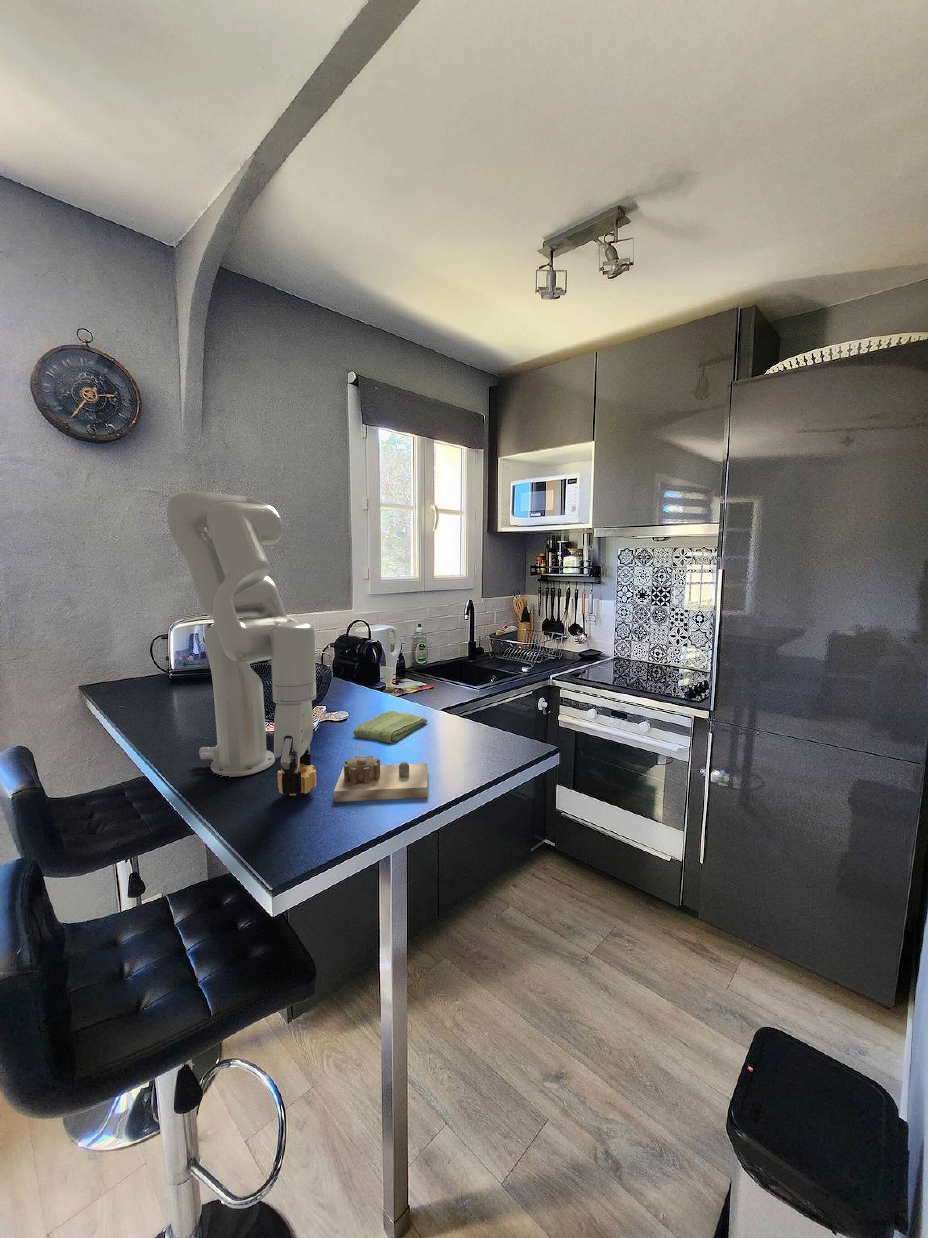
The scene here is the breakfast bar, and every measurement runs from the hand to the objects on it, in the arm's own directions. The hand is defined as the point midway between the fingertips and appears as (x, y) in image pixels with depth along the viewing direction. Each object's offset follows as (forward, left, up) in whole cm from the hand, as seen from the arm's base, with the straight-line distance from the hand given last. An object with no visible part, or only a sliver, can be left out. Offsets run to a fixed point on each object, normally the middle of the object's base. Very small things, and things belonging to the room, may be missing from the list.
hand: (297, 782), depth 94 cm
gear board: (+16, +2, -2) cm, 16 cm away
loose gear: (0, 0, -1) cm, 1 cm away
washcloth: (+15, +35, -3) cm, 38 cm away
